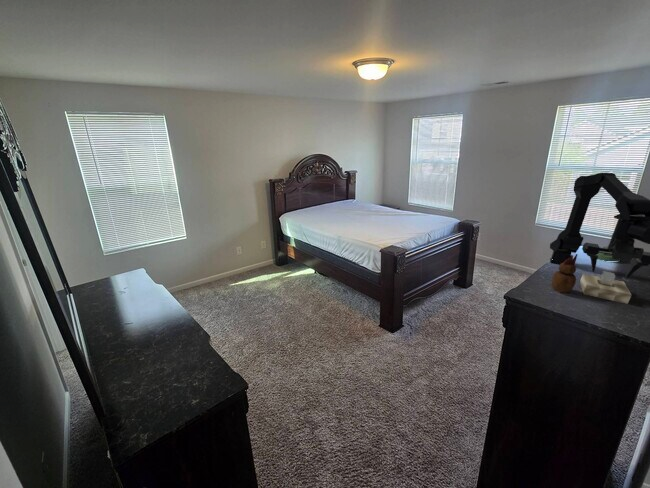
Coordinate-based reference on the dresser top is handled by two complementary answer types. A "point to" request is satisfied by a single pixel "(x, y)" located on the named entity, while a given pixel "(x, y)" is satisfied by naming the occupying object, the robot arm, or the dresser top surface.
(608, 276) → the pin
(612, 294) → the hole block
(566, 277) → the wooden figurine
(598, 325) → the dresser top surface
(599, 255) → the decorative artifact
